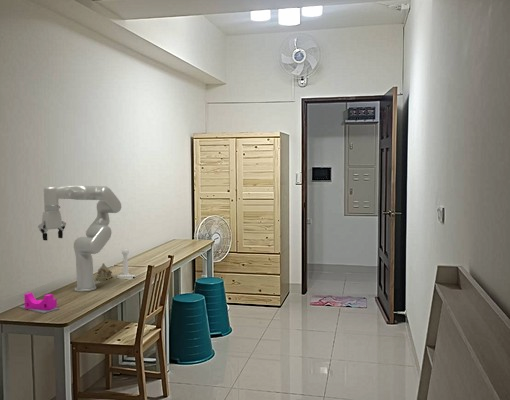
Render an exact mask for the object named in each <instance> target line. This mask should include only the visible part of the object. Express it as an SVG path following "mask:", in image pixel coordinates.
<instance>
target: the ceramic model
mask: <svg viewBox="0 0 510 400" xmlns="http://www.w3.org/2000/svg"><path fill="white" fill-rule="evenodd" d="M96 273H97V274H96V276H95V278H94V279H95V281H97V280H102V281H107V280H106V279H108V280H110V279H111V277H112V278H113V277H114V276H113V275H112V273H113V272H112V270H110V269H109V268H108V266H107V265H105V263H104V262H103V263H102V265H101V266H100V268H99V269H97V272H96ZM109 278H110V279H109Z"/></svg>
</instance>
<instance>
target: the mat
mask: <svg viewBox="0 0 510 400" xmlns="http://www.w3.org/2000/svg"><path fill="white" fill-rule="evenodd" d="M18 308H19V309H23V310H26V309H25V304H23V305H19V306H18ZM31 310H32V311H31ZM59 310H60V308H59V307H57V308H54V309H52V310H49V311H48V310H37V309H28V310H27V311H31V312H34V313H35V312H36V313H39V314H47V313H52V312H55V311H59Z"/></svg>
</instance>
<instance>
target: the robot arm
mask: <svg viewBox="0 0 510 400" xmlns="http://www.w3.org/2000/svg"><path fill="white" fill-rule="evenodd" d="M60 199H61V200H76V201H77V200H78V201H97V203H96V213H97V214H96V217H95V219H94V221H92V223H91V224H90V225H89V226H88V227H87V229H86V231H85V236H80V237H77V238H76V239H75V240H74V242H73V249H74V255H75V268H76V269H75V271H76V273H75V274H76V287H74V292H82V293H83V292H90V291H95V290H96V289H97V286H96V285H99V284H101V281H97V280H94V263H93V262H94V259H93V255H95V254H99V253H100V252H101V251H102V250H103V248H104V247H105V246H106V245H107V243H108V242H109V240H110V239H111V236H112V229H111V227H110V226H109V225H110V222H111V221H110V215H109V214H117V213H119V212H120V211H121V210H122V203H121V201H120V199H119V198H118V197H117V195H116V194H115V192H113V191H112V189H111V188H110V187H108V186H99V185H98V186H97V185H96V186H95V185H94V186H93V185H51V186H46V187H45V186H44V188H43V203H44V211H42V216H41V223H40V224H39V225H37V228H38V230H39V231H40V233H41V234H42V241H48V233H47V232H48V231H49V230H56V229H57V230H58V231H57V236H58V237H57V238H58V239H63V238H64V237H63V236H64V230H65V229H66V226H67V222H65V221H63V220H62V214H61V211H60V210H59V209H61V206H60V205H59V203H60V202H59V200H60Z"/></svg>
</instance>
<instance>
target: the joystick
mask: <svg viewBox="0 0 510 400" xmlns="http://www.w3.org/2000/svg"><path fill="white" fill-rule="evenodd" d="M121 254H122V256H123V258H122V261H123V263H122V265H123V266H122V267H123V268H122V274H117V275H116V276H117V278H132V277H135V278H136V274H131V273H130V271H129V263H128V261H129V260H128V254H129V249H128V248H126V247H124V248H123V249H121Z"/></svg>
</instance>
